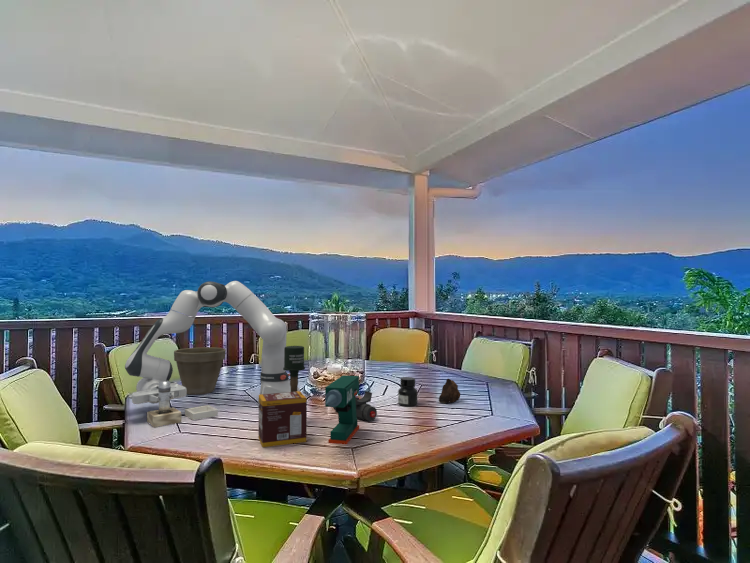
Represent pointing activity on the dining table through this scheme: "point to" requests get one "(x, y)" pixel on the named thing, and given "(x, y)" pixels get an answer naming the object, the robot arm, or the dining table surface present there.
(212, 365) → the plant pot
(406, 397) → the ink bottle
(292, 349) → the stick grenade
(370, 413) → the laser sight
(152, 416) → the socket block
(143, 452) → the dining table surface
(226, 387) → the dining table surface
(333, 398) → the power tool
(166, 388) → the collared metal peg
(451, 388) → the decorative rock
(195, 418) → the tray
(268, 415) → the supplement box
